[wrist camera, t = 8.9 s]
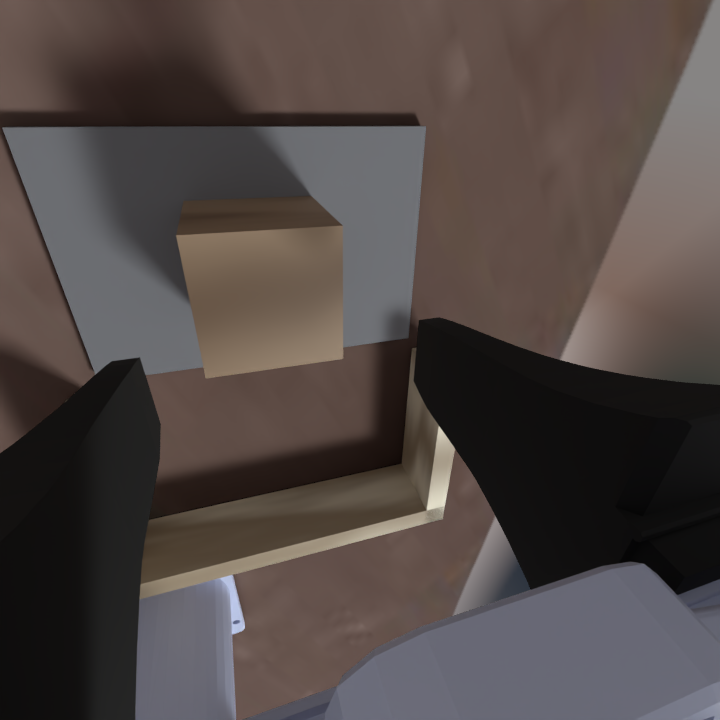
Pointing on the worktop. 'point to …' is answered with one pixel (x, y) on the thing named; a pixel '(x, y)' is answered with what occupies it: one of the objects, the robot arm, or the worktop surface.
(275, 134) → the rubber mat
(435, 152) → the worktop surface
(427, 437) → the beige angled piece
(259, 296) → the wooden cube
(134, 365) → the robot arm
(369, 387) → the worktop surface
